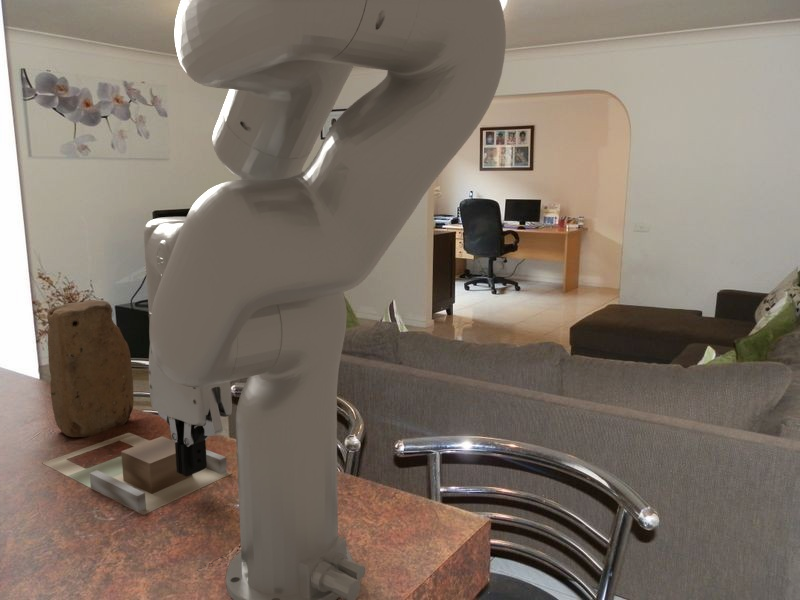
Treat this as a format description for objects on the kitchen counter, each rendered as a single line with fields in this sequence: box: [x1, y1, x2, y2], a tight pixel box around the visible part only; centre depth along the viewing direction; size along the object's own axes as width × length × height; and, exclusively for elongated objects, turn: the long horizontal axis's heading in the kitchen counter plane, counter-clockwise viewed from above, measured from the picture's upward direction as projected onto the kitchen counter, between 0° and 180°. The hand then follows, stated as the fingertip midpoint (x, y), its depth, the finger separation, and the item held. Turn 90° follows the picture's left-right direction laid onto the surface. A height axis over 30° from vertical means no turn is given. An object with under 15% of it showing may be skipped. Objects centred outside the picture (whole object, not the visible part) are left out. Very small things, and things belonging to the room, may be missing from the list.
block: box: [46, 299, 135, 438], centre depth 102 cm, size 11×8×20 cm
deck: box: [41, 432, 232, 516], centre depth 88 cm, size 23×13×3 cm, turn 55°
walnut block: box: [120, 435, 193, 494], centre depth 85 cm, size 6×6×4 cm
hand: (191, 470), depth 81 cm, fingers closed
